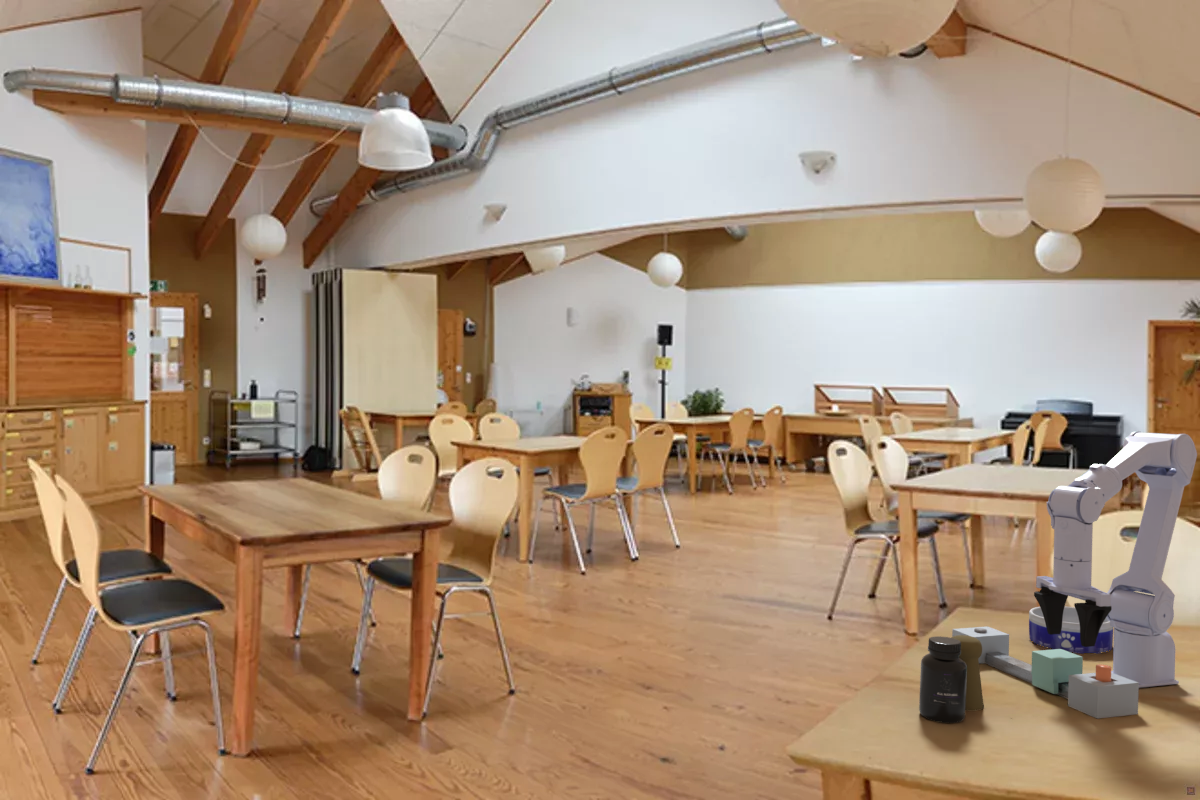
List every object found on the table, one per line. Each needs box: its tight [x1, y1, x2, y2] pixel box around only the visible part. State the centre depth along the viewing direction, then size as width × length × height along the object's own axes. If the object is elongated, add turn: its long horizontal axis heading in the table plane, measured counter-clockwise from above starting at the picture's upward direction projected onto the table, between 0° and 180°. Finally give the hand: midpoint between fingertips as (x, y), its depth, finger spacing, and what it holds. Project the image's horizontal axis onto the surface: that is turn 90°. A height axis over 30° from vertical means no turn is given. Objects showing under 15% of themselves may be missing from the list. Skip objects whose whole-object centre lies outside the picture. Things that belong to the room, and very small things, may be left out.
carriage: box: [1031, 649, 1084, 695], centre depth 163 cm, size 6×5×6 cm
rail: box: [985, 652, 1069, 700], centre depth 168 cm, size 3×22×2 cm, turn 17°
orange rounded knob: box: [1095, 663, 1112, 682], centre depth 153 cm, size 2×2×4 cm
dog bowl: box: [1028, 606, 1114, 654], centre depth 193 cm, size 15×15×6 cm
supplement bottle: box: [918, 635, 967, 724], centre depth 149 cm, size 7×7×12 cm
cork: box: [950, 635, 985, 712], centre depth 155 cm, size 6×6×11 cm
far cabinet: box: [951, 625, 1010, 664], centre depth 182 cm, size 8×6×5 cm
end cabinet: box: [1067, 672, 1140, 719], centre depth 153 cm, size 8×6×5 cm
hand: (1070, 639), depth 160 cm, fingers open, 7 cm apart
